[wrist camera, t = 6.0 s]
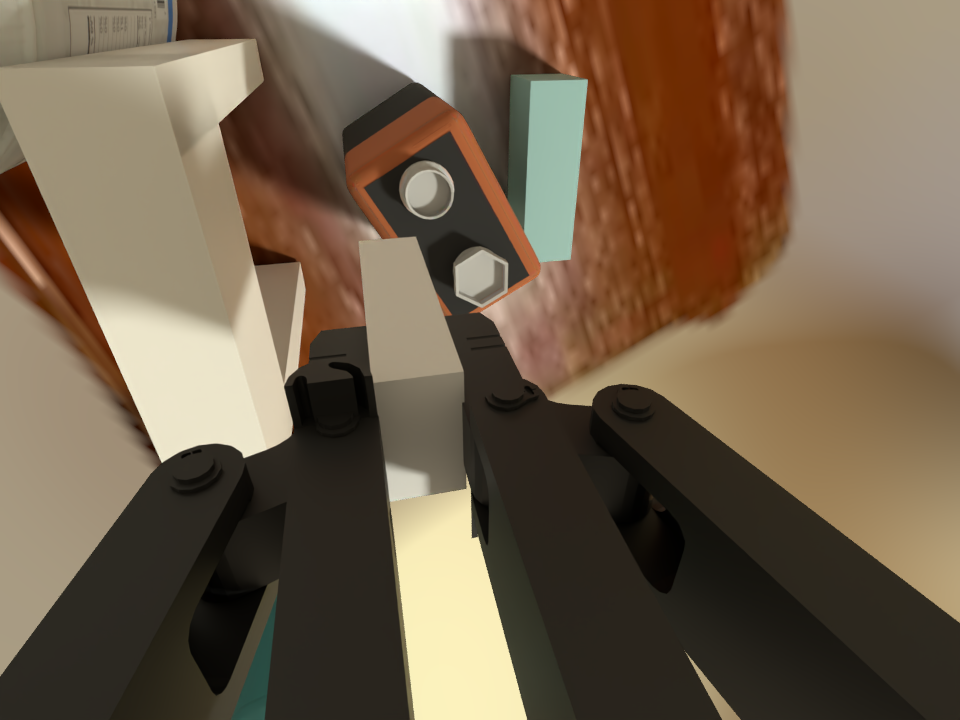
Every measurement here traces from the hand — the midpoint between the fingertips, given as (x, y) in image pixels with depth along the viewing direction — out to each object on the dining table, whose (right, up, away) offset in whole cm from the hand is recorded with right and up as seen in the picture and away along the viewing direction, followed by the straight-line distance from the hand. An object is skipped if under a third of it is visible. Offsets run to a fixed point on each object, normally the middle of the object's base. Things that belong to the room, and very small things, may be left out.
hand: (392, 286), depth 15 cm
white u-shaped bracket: (-8, +6, +10) cm, 14 cm away
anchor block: (+5, +8, +12) cm, 15 cm away
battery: (-1, +7, +11) cm, 13 cm away
